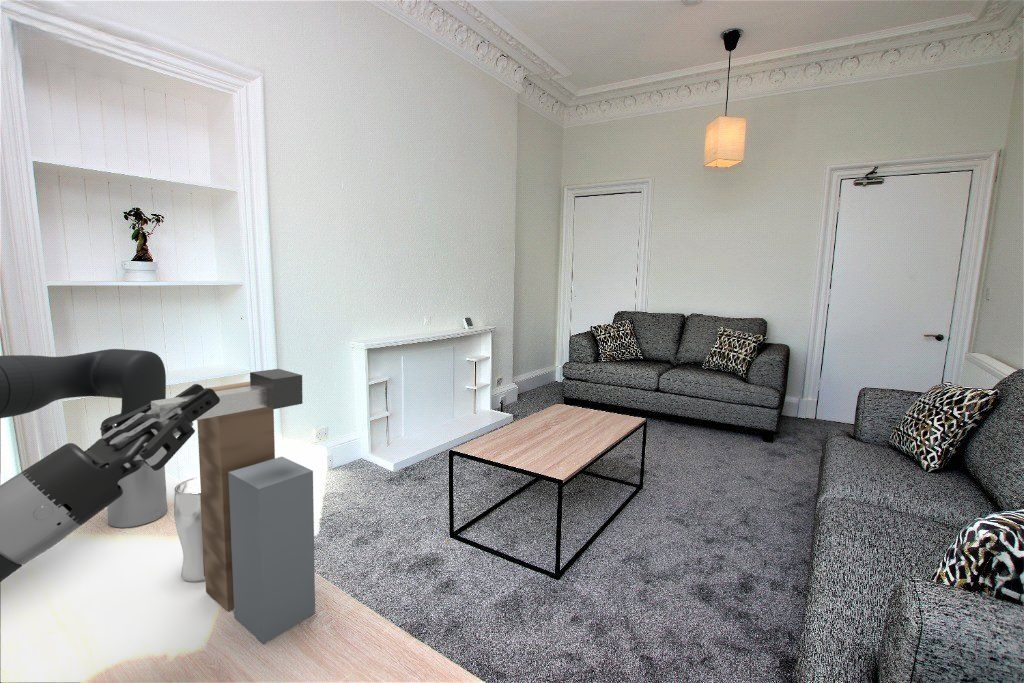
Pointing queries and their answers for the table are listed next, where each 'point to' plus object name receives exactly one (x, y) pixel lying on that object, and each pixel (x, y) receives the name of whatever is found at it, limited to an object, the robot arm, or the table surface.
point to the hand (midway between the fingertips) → (208, 392)
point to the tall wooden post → (227, 483)
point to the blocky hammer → (246, 395)
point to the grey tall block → (272, 546)
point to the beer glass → (190, 528)
